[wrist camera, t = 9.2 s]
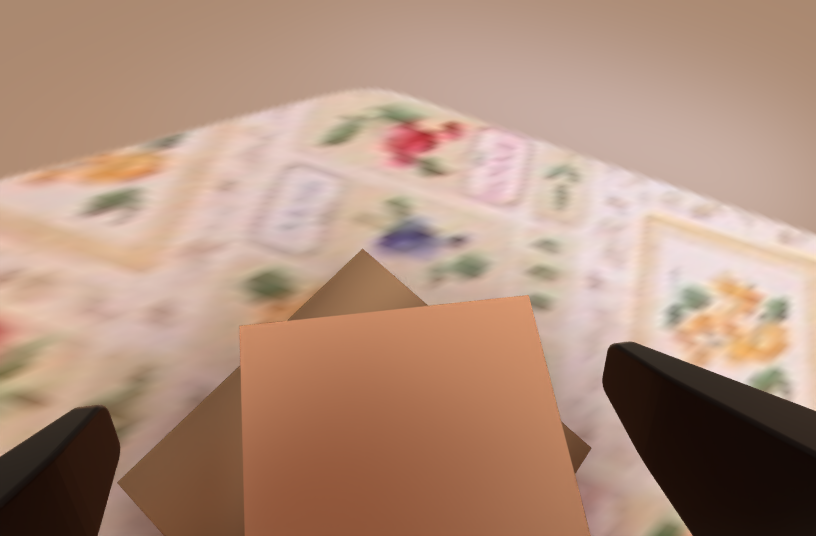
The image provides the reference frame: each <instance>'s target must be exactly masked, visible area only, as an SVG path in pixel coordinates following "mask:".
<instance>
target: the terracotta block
mask: <svg viewBox="0 0 816 536" xmlns="http://www.w3.org/2000/svg"><path fill="white" fill-rule="evenodd" d="M240 366H241V407H242V447H243V487H244V528H245V536H590V532H589V528H588V524H587V520H586V516H585V512H584V509H583V505H582V501H581V497H580V493H579V489H578V485H577V481H576V477H575V474H574V470H573V466H572V462H571V458H570V454H569V450H568V446H567V443H566V439H565V435H564V431H563V427H562V423H561V419H560V415H559V411H558V408H557V404H556V400H555V396H554V392H553V388H552V384H551V380H550V377H549V373H548V369H547V365H546V361H545V357H544V353H543V349H542V345H541V342H540V338H539V334H538V330H537V326H536V322H535V318H534V314H533V311H532V307H531V303H530V299H529V295H525V296H516V297H507V298H497V299H488V300H479V301H469V302H460V303H451V304H441V305H432V306H422V307H413V308H404V309H394V310H385V311H376V312H366V313H357V314H347V315H338V316H329V317H319V318H310V319H301V320H291V321H282V322H272V323H263V324H254V325H244V326H240Z"/></svg>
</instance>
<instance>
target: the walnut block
mask: <svg viewBox="0 0 816 536" xmlns="http://www.w3.org/2000/svg"><path fill="white" fill-rule="evenodd" d="M422 306H428V305H427V304H426V303H424V302H423V301H422V300H421V299H420V298H419V297H418V296H416V295H415V294H414V293H413V292H412V291H411V290H410V289H408V288H407V287H406V286H405V285H404V284H403V283H401V282H400V281H399V280H398V279H397V278H396V277H395V276H393V275H392V274H391V273H390V272H389V271H388V270H387V269H385V268H384V267H383V266H382V265H381V264H380V263H379V262H377V261H376V260H375V259H374V258H373V257H372V256H370V255H369V254H368V253H367V252H366V251H365V250H364V249H362V250H361V251H360V252H359V253H358V254H357V255H356V256H355V257H353V258H352V259H351V260H350V261H349V262H348V263H347V264H346V265H345V266H344V267H343V268H342V269H341V270H340V271H339V272H338V273H337V274H336V275H335V276H334V277H332V278H331V279H330V280H329V281H328V282H327V283H326V284H325V285H324V286H323V287H322V288H321V289H320V290H319V291H318V292H317V293H316V294H315V295H314V296H313V297H312V298H310V299H309V300H308V301H307V302H306V303H305V304H304V305H303V306H302V307H301V308H300V309H299V310H298V311H297V312H296V313H295V314H294V315H293V316H292V317H291V318H289V319H288V320H287V321H291V320H301V319H310V318H319V317H329V316H338V315H347V314H357V313H366V312H376V311H385V310H394V309H404V308H413V307H422ZM561 423H562V422H561ZM562 427H563V431H564V435H565V439H566V443H567V446H568V450H569V454H570V458H571V462H572V466H573V470H574V474H575V473H576V472H577V470H578V468H579V467H580V465H581V464H582V462H583V461H584V459H585V458H586V456H587V454H588V453H589V451H590V450H591V447H590V446H589V445H587V444H586V443H585V442H584V441H583V440H582V439H581V438H579V437H578V436H577V435H576V434H575V433H574V432H573V431H571V430H570V429H569V428H568V427H567V426H566V425H564V424H563V423H562ZM117 483H118V484H119V485H120V487H121V488H122V489H123V490H124V491H125V492H126V493H127V494H128V496H129V497H130V498H131V499H132V500H133V501H134V502H135V503H136V505H137V506H138V507H139V508H140V509H141V510H142V511H143V512H144V513H145V515H146V516H147V517H148V518H149V519H150V520H151V521H152V522H153V524H154V525H155V526H156V527H157V528H158V529H159V530H160V531H161V533H162V534H163V535H164V536H245V528H244V487H243V447H242V407H241V366H239V367H238V368H237V369H236V370H235V371H234V372H233V373H232V374H231V375H230V376H229V377H228V378H226V379H225V380H224V381H223V382H222V383H221V384H220V385H219V386H218V387H217V388H216V389H215V390H214V391H213V392H212V393H211V394H210V395H209V396H208V397H207V398H206V399H204V400H203V401H202V402H201V403H200V404H199V405H198V406H197V407H196V408H195V409H194V410H193V411H192V412H191V413H190V414H189V415H188V416H187V417H186V418H185V419H183V420H182V421H181V422H180V423H179V424H178V425H177V426H176V427H175V428H174V429H173V430H172V431H171V432H170V433H169V434H168V435H167V436H166V437H165V438H164V439H162V440H161V441H160V442H159V443H158V444H157V445H156V446H155V447H154V448H153V449H152V450H151V451H150V452H149V453H148V454H147V455H146V456H145V457H144V458H143V459H141V460H140V461H139V462H138V463H137V464H136V465H135V466H134V467H133V468H132V469H131V470H130V471H129V472H128V473H127V474H126V475H125V476H124V477H123V478H122V479H120V480H119V481H118V482H117Z"/></svg>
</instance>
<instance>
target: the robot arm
mask: <svg viewBox="0 0 816 536" xmlns="http://www.w3.org/2000/svg"><path fill="white" fill-rule="evenodd" d="M602 383H603V388H604V391H605V393H606V395H607V396H608V398H609V400H610V402H611V404H612V406H613V408H614V409H615V411H616V413H617V415H618V417H619V419H620V420H621V422H622V424H623V426H624V428H625V430H626V432H627V433H628V435H629V437H630V439H631V441H632V443H633V445H634V446H635V448H636V450H637V452H638V453H639V455H640V457H641V459H642V460H643V462H644V463H645V465H646V467H647V468H648V470H649V471H650V473H651V474H652V476H653V477H654V479H655V480H656V482H657V483H658V485H659V486H660V488H661V489H662V491H663V492H664V494H665V495H666V497H667V498H668V500H669V501H670V502H671V504H672V505H673V507H674V508H675V510H676V511H677V513H678V514H679V516H680V517H681V519H682V520H683V522H684V523H685V525H686V526H687V528H688V529H689V531H690V532H691V534H692V535H693V536H816V411H814V410H811V409H809V408H806V407H804V406H801V405H798V404H796V403H793V402H790V401H788V400H785V399H782V398H780V397H777V396H775V395H772V394H769V393H767V392H764V391H761V390H759V389H756V388H753V387H751V386H748V385H746V384H743V383H740V382H738V381H735V380H732V379H730V378H727V377H724V376H722V375H719V374H717V373H714V372H711V371H709V370H706V369H703V368H701V367H698V366H695V365H693V364H690V363H688V362H685V361H682V360H680V359H677V358H674V357H672V356H669V355H666V354H664V353H661V352H658V351H656V350H653V349H651V348H648V347H645V346H643V345H640V344H637V343H635V342H621V343H614V344H612V345H610V347H609V348H608V351H607V356H606V361H605V367H604V372H603V378H602ZM119 456H120V443H119V439H118V436H117V434H116V431H115V428H114V425H113V422H112V419H111V416H110V413H109V411H108V409H107V408H106V407H105V406H103V405H92V406H84V407H77V408H74V409H73V410H71V411H69V412H68V413H66V414H65V415H63V416H62V417H60V418H59V419H57V420H56V421H54V422H53V423H51V424H50V425H48V426H46V427H45V428H43V429H42V430H40V431H39V432H37V433H36V434H34V435H33V436H31V437H30V438H28V439H27V440H25V441H24V442H22V443H21V444H19V445H17V446H16V447H14V448H13V449H11V450H10V451H8V452H7V453H5V454H4V455H2V456H1V457H0V536H98V532H99V529H100V525H101V522H102V518H103V514H104V511H105V507H106V504H107V500H108V496H109V493H110V489H111V486H112V482H113V478H114V475H115V471H116V468H117V464H118V460H119Z"/></svg>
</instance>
